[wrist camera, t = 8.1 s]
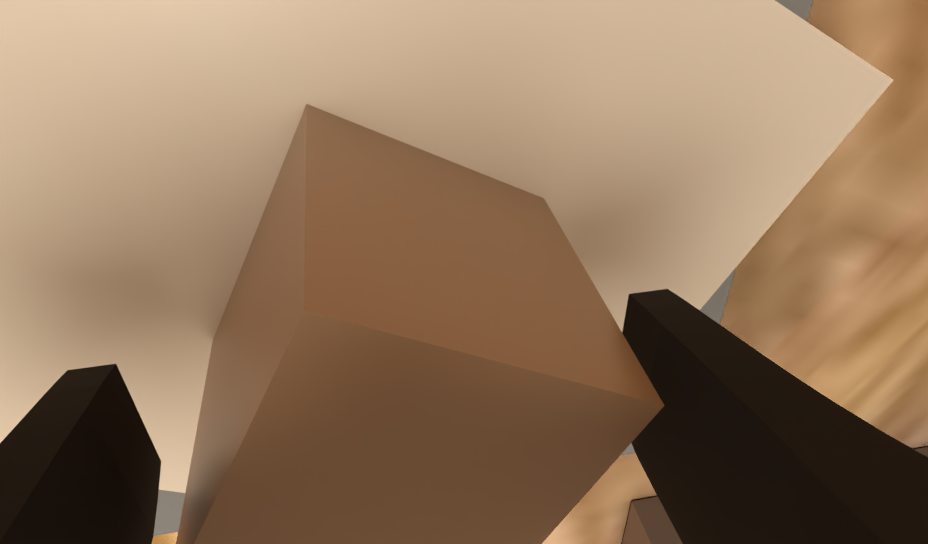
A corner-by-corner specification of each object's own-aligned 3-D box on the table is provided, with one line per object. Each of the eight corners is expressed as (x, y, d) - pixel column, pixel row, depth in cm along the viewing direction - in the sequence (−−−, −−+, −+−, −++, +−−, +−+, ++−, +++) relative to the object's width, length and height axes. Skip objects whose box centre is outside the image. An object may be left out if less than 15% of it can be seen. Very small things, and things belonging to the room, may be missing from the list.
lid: (863, 65, 12) (1196, 226, 8) (502, 511, 19) (565, 746, 14) (-2, -511, 6) (-762, -1258, 2) (-97, 420, 13) (-327, 769, 8)
